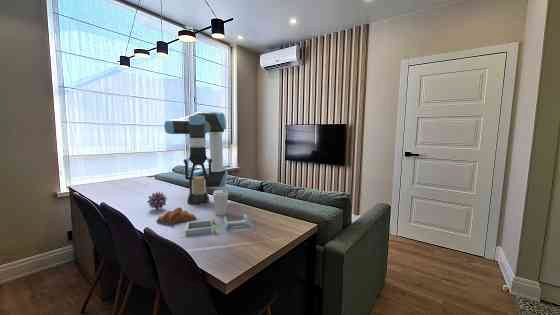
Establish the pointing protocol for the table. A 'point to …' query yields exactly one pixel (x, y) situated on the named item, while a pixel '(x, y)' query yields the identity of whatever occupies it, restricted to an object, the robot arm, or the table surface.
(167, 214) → the pastry
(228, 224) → the gate
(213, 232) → the housing
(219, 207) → the coffee cup
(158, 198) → the spiky ball
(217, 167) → the robot arm
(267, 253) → the table surface
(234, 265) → the table surface
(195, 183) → the jaw block
